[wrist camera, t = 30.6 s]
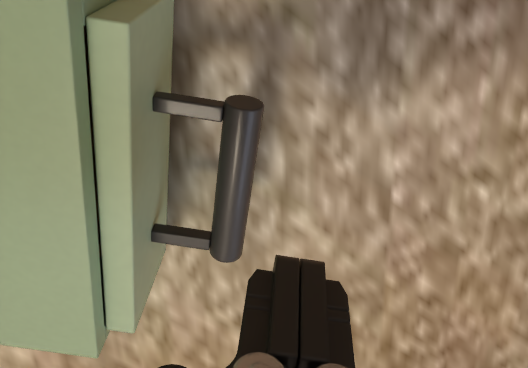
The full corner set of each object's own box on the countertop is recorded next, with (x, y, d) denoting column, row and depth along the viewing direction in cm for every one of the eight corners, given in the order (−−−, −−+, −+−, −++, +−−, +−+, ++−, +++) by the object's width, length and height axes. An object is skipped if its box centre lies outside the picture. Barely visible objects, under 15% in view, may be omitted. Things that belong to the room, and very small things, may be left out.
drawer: (279, 7, 17) (273, 45, 12) (240, 260, 23) (227, 347, 19) (-227, -75, 16) (-432, -67, 12) (-120, 207, 23) (-223, 283, 18)
